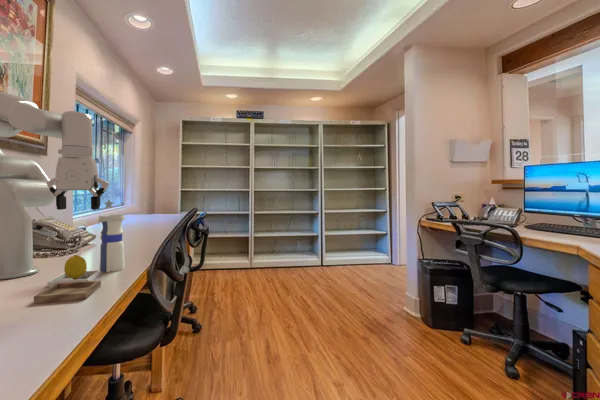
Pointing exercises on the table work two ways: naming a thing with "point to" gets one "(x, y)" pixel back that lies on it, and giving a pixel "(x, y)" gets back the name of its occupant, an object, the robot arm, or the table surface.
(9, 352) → the table surface
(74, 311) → the table surface
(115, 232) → the water bottle
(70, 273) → the lemon
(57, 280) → the frame
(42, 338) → the table surface
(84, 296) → the tray
